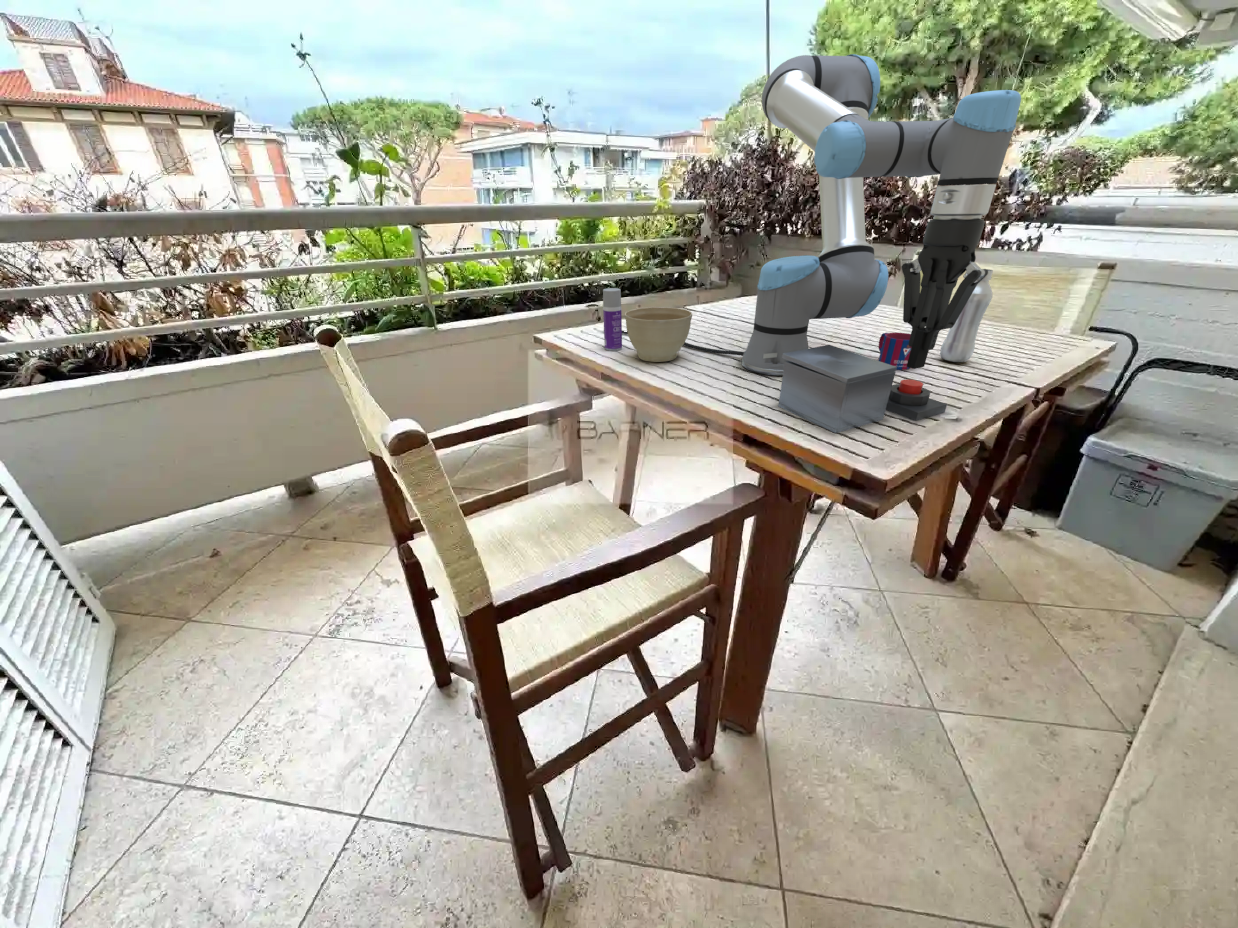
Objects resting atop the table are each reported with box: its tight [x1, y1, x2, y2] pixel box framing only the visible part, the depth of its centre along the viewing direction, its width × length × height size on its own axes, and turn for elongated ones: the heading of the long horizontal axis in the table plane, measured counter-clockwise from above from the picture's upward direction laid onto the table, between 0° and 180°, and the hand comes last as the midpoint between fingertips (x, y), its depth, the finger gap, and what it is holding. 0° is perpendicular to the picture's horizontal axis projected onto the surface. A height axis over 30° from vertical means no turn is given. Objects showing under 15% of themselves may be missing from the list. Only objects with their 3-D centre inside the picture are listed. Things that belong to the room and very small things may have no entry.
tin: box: [777, 361, 896, 434], centre depth 86 cm, size 14×12×9 cm
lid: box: [782, 344, 897, 383], centre depth 84 cm, size 14×12×1 cm
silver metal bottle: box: [939, 268, 994, 363], centre depth 108 cm, size 6×7×20 cm
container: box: [602, 287, 623, 352], centre depth 125 cm, size 5×5×15 cm
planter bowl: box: [624, 306, 693, 363], centre depth 118 cm, size 16×16×11 cm
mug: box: [878, 332, 912, 371], centre depth 111 cm, size 7×10×7 cm
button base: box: [885, 383, 948, 422], centre depth 89 cm, size 10×8×4 cm
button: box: [898, 378, 924, 394], centre depth 87 cm, size 4×4×2 cm
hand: (915, 366), depth 85 cm, fingers closed
